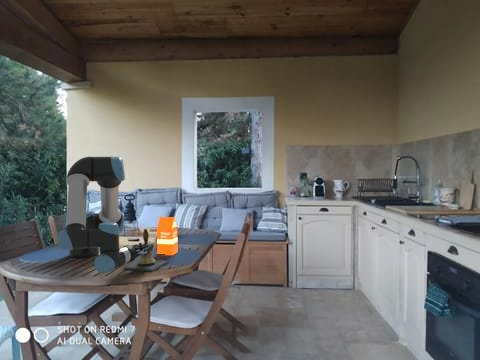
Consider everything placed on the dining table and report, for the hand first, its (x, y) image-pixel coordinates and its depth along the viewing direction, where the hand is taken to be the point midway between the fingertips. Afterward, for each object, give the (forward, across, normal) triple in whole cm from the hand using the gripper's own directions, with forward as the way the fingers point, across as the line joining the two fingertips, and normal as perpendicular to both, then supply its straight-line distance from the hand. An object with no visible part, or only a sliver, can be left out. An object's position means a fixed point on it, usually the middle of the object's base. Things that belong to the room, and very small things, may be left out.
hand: (152, 243), depth 178 cm
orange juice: (+19, -2, -10) cm, 22 cm away
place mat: (-6, 0, -10) cm, 11 cm away
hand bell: (-6, 0, -8) cm, 10 cm away
